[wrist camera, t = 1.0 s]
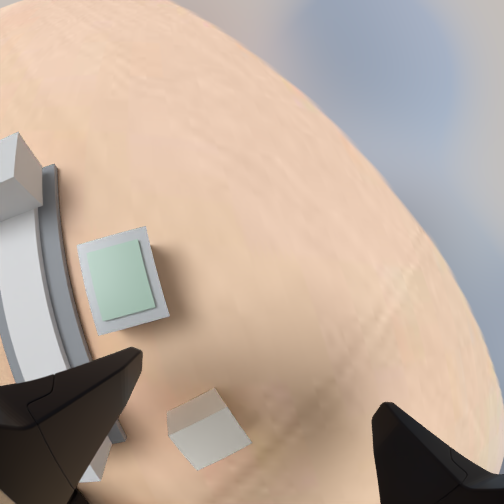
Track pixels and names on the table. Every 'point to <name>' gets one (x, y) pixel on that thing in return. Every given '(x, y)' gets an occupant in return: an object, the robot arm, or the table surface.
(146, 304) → the module block
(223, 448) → the block
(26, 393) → the robot arm
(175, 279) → the table surface
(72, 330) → the rail
